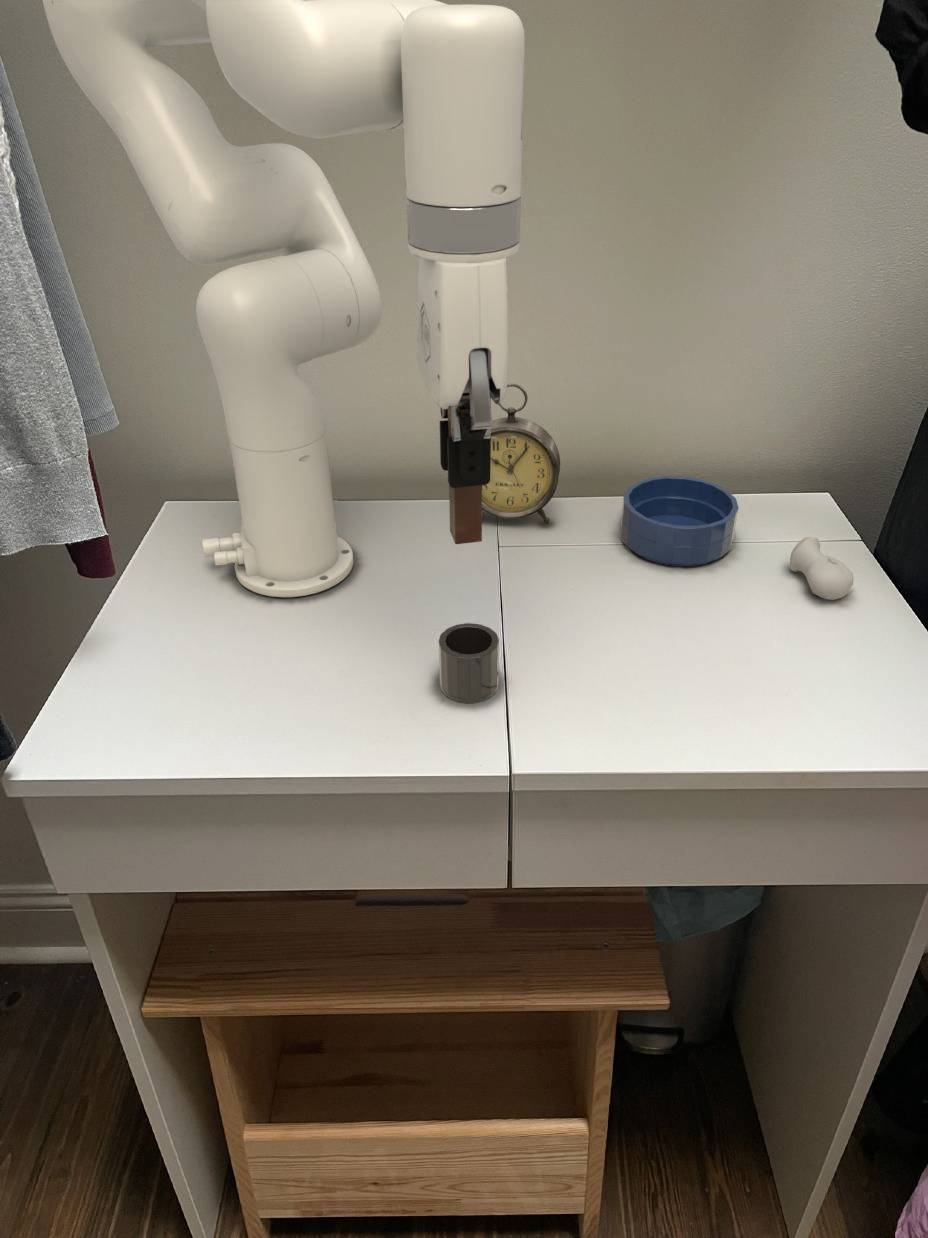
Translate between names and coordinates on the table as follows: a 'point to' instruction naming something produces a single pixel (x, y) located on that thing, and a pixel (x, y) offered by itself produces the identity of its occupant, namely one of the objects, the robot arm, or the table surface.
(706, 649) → the table surface
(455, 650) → the crock
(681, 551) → the bowl
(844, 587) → the smooth white sculpture
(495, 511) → the alarm clock
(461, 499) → the stick
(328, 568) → the robot arm
